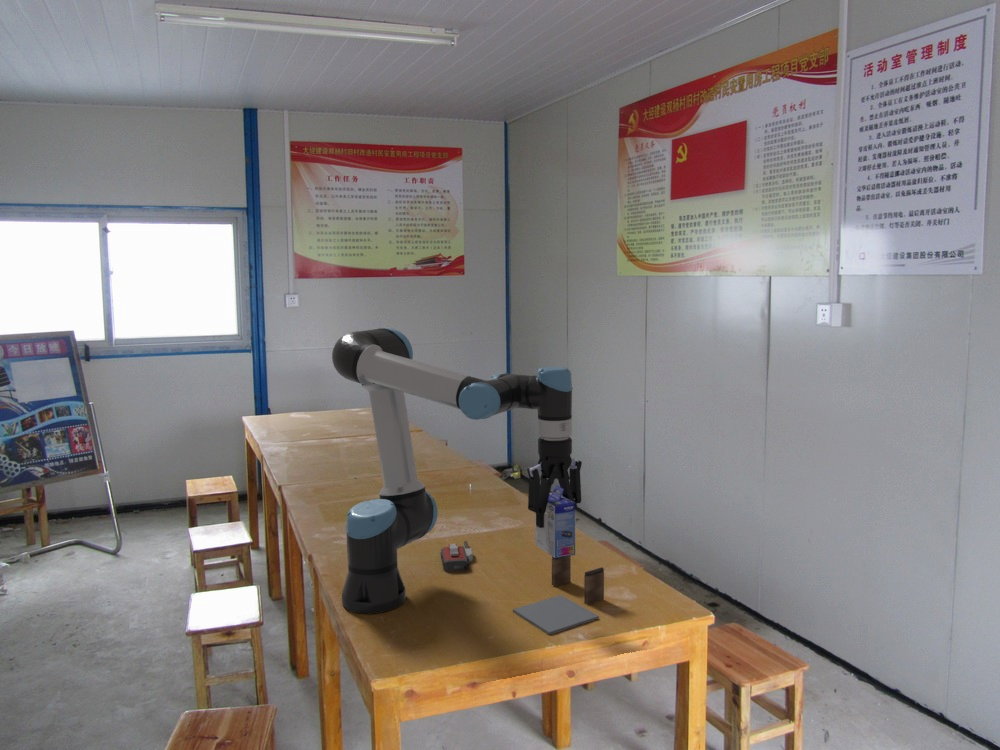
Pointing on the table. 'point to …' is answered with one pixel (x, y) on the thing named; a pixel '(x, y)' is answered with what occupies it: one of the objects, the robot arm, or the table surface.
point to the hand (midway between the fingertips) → (555, 537)
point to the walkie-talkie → (456, 557)
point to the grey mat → (555, 614)
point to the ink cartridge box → (559, 526)
